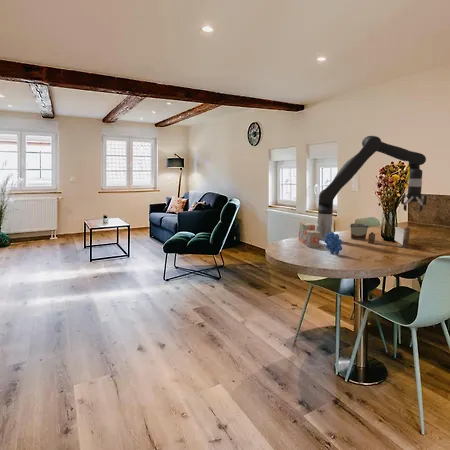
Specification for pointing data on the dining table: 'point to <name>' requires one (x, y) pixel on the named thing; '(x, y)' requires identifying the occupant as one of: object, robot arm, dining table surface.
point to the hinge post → (406, 237)
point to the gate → (399, 235)
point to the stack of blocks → (309, 235)
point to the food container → (358, 231)
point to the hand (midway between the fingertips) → (412, 211)
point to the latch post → (371, 238)
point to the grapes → (333, 242)
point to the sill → (389, 244)
